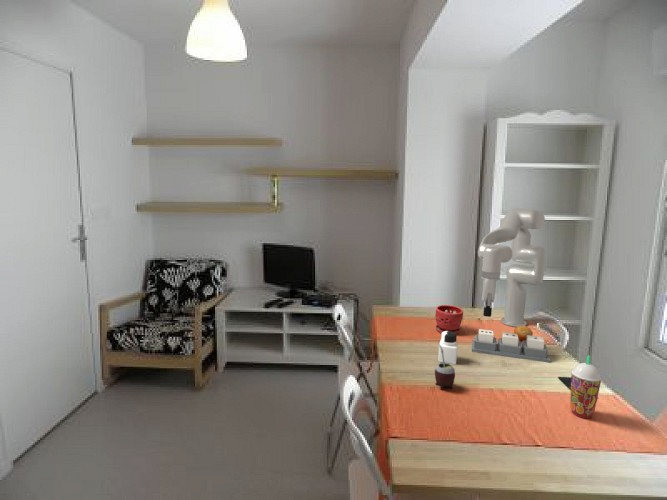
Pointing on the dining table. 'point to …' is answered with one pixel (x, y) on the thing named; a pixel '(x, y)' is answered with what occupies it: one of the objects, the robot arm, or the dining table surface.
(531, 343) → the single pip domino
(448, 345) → the medicine bottle
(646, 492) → the dining table surface
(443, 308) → the plant pot
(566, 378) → the smartphone
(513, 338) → the two dot tile
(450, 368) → the mate gourd
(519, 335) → the fruit
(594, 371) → the smoothie
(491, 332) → the three dot tile
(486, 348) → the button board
